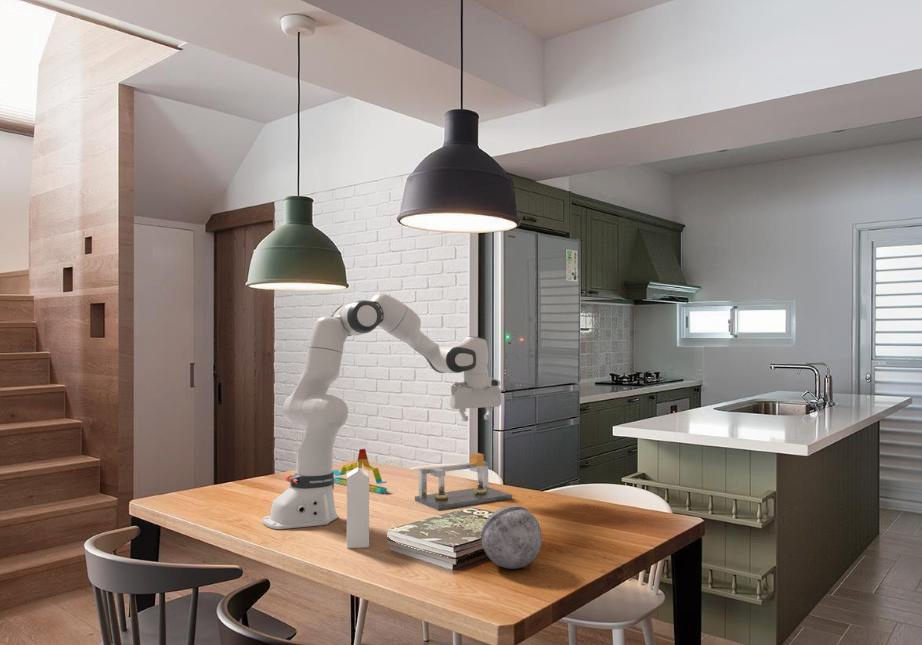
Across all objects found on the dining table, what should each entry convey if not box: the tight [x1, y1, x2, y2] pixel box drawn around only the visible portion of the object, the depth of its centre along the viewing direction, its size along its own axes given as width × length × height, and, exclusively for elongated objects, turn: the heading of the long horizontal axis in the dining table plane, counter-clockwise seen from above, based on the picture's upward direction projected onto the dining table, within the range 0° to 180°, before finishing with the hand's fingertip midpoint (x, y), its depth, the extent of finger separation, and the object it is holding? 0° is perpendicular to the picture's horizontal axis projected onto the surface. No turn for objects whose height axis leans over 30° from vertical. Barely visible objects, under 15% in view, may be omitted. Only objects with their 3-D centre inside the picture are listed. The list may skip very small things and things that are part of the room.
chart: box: [332, 448, 388, 495], centre depth 262 cm, size 30×3×15 cm, turn 46°
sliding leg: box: [469, 452, 485, 488], centre depth 247 cm, size 3×6×12 cm, turn 33°
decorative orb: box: [480, 505, 543, 570], centre depth 169 cm, size 15×14×15 cm
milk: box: [346, 467, 370, 549], centre depth 188 cm, size 6×6×22 cm
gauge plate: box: [414, 460, 513, 511], centre depth 241 cm, size 30×16×11 cm, turn 123°
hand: (476, 420), depth 247 cm, fingers open, 8 cm apart
